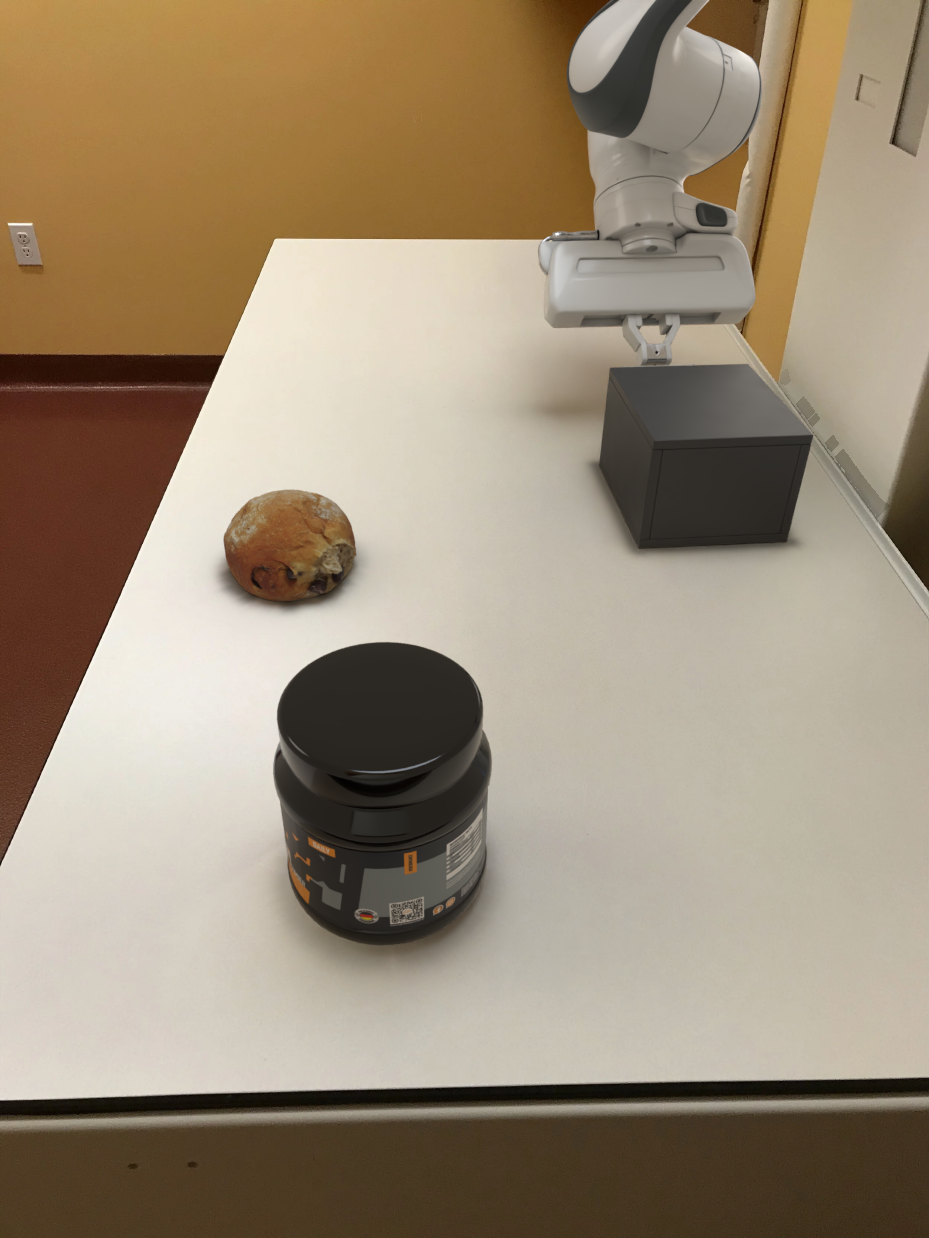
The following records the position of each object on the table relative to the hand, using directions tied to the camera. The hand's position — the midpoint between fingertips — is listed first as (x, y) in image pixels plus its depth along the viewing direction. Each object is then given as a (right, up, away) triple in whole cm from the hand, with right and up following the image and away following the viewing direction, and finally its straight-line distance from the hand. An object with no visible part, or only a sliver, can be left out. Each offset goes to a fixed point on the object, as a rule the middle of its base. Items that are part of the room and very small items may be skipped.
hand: (655, 365), depth 91 cm
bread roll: (-31, -21, -17) cm, 41 cm away
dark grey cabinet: (+1, -14, -7) cm, 16 cm away
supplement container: (-22, -38, -40) cm, 59 cm away
